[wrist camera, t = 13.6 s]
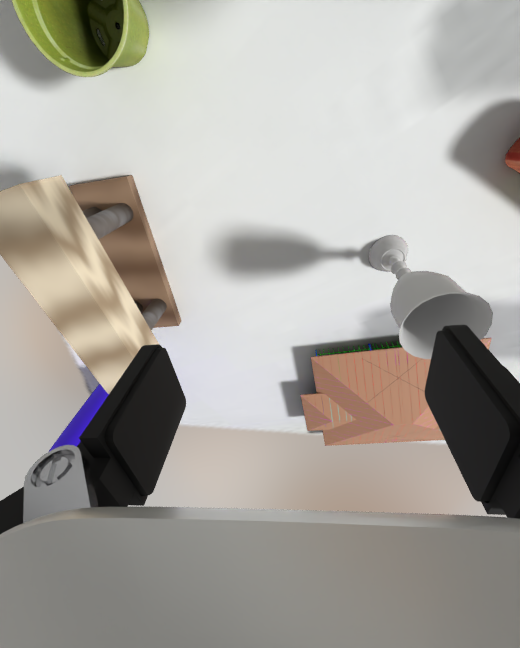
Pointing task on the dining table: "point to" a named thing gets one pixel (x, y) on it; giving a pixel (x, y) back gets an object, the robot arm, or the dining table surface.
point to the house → (371, 397)
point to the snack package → (514, 156)
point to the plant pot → (86, 33)
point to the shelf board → (71, 276)
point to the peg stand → (129, 245)
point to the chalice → (426, 300)
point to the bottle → (82, 419)
